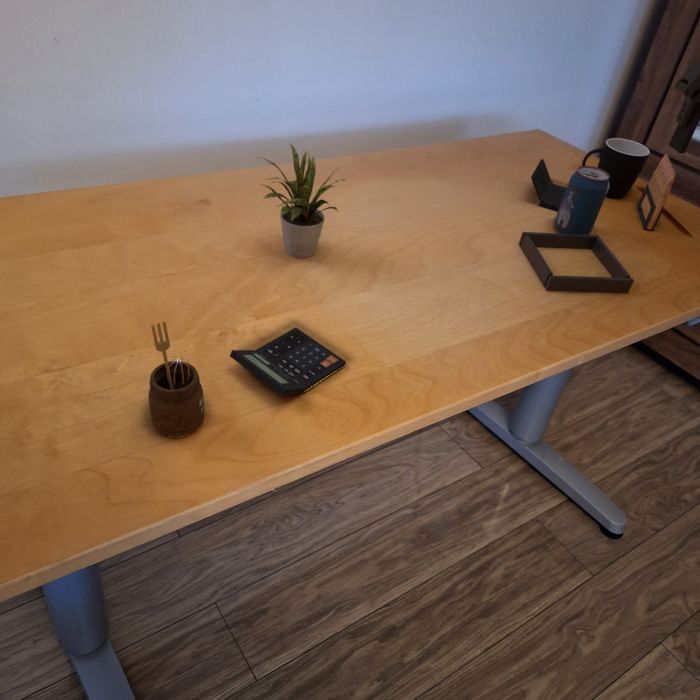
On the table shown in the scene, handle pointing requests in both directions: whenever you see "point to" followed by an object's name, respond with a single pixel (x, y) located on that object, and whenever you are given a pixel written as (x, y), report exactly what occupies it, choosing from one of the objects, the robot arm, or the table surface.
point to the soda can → (582, 201)
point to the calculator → (289, 362)
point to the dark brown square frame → (575, 283)
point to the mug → (621, 164)
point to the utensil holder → (174, 393)
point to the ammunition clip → (656, 194)
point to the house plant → (301, 208)
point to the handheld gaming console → (547, 188)
